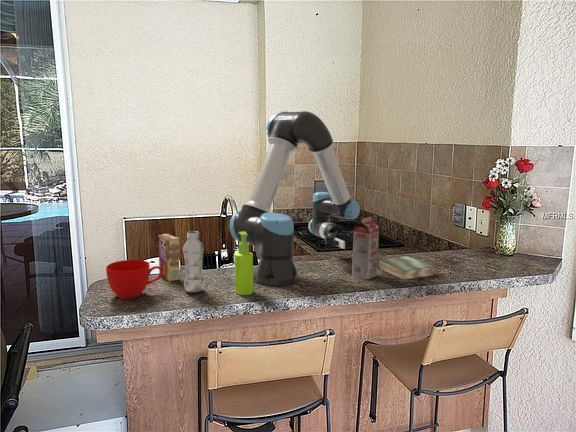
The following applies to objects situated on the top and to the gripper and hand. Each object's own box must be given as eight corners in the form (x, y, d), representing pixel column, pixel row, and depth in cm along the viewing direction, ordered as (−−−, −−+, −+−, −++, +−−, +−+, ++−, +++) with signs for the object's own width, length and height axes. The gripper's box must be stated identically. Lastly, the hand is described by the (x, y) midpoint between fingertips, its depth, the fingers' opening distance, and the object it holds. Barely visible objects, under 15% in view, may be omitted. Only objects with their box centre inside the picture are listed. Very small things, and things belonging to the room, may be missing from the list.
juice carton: (351, 275, 170) (354, 217, 166) (361, 271, 175) (363, 215, 171) (367, 279, 166) (370, 219, 162) (376, 275, 171) (379, 217, 167)
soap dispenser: (249, 287, 156) (249, 229, 152) (254, 294, 149) (254, 234, 146) (232, 289, 154) (232, 230, 150) (237, 296, 148) (236, 235, 144)
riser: (403, 279, 167) (404, 270, 166) (378, 267, 181) (378, 259, 180) (434, 275, 172) (434, 266, 172) (407, 263, 187) (407, 255, 186)
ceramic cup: (164, 298, 144) (163, 268, 143) (107, 304, 139) (105, 273, 137) (161, 285, 156) (160, 257, 155) (108, 290, 151) (106, 261, 149)
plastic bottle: (206, 294, 149) (204, 233, 145) (184, 295, 147) (183, 234, 144) (203, 287, 155) (202, 229, 152) (183, 289, 153) (181, 230, 150)
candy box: (181, 279, 163) (179, 237, 161) (169, 281, 161) (168, 239, 158) (170, 273, 170) (168, 233, 167) (158, 275, 167) (157, 234, 165)
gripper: (356, 238, 198) (386, 250, 179) (304, 243, 188) (330, 256, 169) (357, 221, 197) (387, 231, 178) (305, 225, 187) (331, 236, 168)
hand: (359, 243), depth 173 cm, fingers open, 13 cm apart
